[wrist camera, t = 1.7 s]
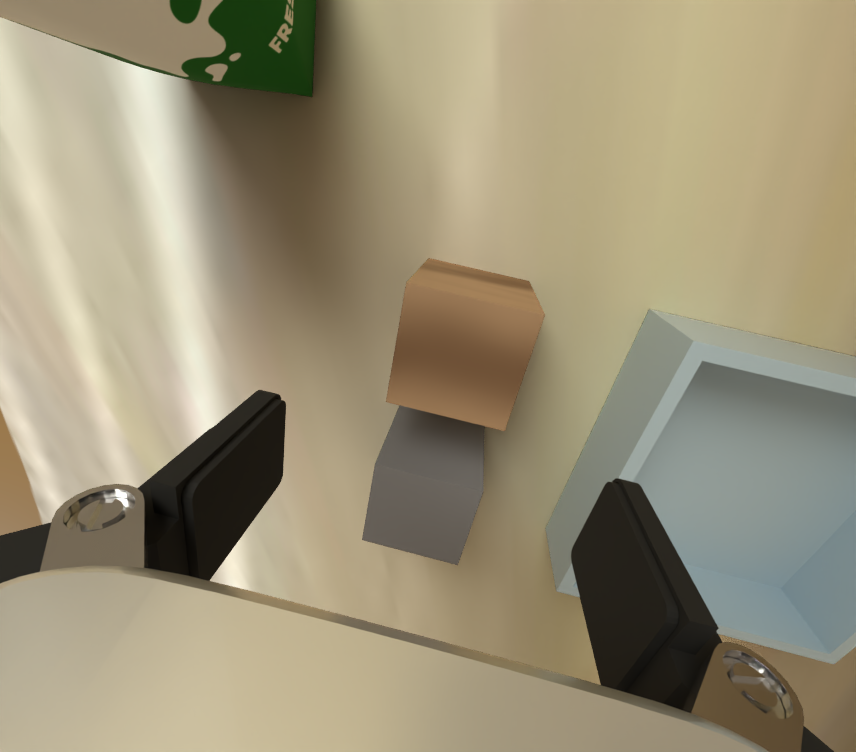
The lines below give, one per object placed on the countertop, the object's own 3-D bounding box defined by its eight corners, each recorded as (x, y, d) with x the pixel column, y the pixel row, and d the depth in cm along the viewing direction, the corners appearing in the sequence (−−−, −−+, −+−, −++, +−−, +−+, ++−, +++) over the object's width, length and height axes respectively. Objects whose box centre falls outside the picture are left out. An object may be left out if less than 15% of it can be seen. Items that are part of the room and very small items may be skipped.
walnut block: (429, 258, 23) (406, 282, 16) (529, 280, 22) (544, 315, 16) (411, 350, 25) (385, 401, 19) (500, 371, 25) (504, 431, 19)
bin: (649, 309, 22) (693, 340, 17) (973, 383, 21) (1112, 438, 16) (545, 528, 30) (556, 591, 25) (777, 588, 29) (834, 664, 24)
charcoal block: (401, 401, 27) (374, 464, 21) (484, 422, 27) (483, 491, 21) (388, 467, 30) (362, 539, 23) (464, 486, 29) (457, 565, 23)
